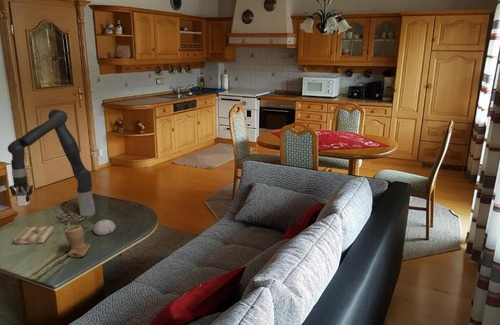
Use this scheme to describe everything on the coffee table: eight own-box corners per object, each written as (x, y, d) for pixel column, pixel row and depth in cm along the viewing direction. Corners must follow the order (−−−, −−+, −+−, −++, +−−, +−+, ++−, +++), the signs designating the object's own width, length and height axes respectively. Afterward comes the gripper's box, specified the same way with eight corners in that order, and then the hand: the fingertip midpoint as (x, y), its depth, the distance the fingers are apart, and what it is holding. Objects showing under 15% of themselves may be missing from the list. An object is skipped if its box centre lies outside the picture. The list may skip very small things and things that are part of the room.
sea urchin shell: (92, 238, 249) (91, 225, 246) (94, 228, 261) (93, 217, 259) (115, 235, 252) (114, 223, 250) (116, 226, 265) (115, 215, 262)
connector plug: (29, 202, 256) (27, 190, 254) (25, 205, 251) (24, 193, 249) (21, 202, 255) (20, 190, 253) (18, 205, 251) (16, 193, 249)
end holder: (53, 232, 256) (53, 226, 255) (43, 244, 241) (42, 237, 240) (27, 233, 255) (26, 227, 254) (15, 244, 240) (14, 238, 239)
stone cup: (72, 246, 238) (68, 222, 234) (92, 245, 239) (89, 222, 235) (61, 259, 224) (58, 234, 219) (83, 258, 224) (80, 233, 220)
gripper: (34, 173, 252) (37, 199, 257) (10, 173, 252) (14, 199, 256) (28, 177, 245) (32, 203, 250) (4, 177, 244) (8, 203, 249)
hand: (23, 201), depth 253 cm, fingers closed on connector plug, 4 cm apart
